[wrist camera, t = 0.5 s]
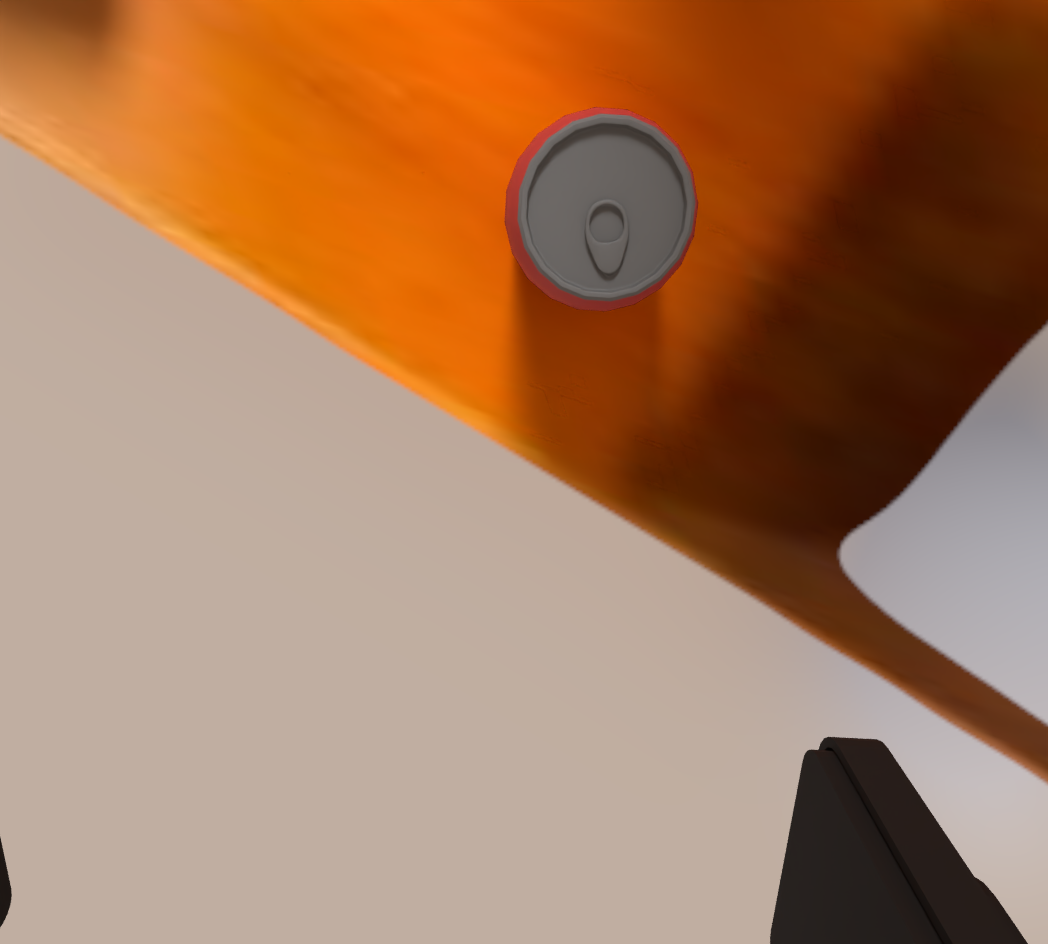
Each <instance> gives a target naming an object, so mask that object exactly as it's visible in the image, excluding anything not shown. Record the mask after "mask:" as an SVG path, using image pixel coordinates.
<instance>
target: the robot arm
mask: <svg viewBox="0 0 1048 944" xmlns="http://www.w3.org/2000/svg"><path fill="white" fill-rule="evenodd" d="M11 896H12V894H11V886H10V881H9V877H8V871H7V867H6V862H5V857H4V852H3V848H2V843H1V838H0V927H1V925H2V924H3V922H4V920H5V918H6V916H7V914H8V910H9V907H10V903H11ZM770 944H1028V943H1027V942H1026V940H1025V939H1024V938H1023V936H1022V934H1021V933H1020V932H1019V930H1018V929H1017V927H1016V926H1015V924H1014V923H1013V921H1012V920H1011V918H1010V917H1009V916H1008V914H1007V913H1006V911H1005V910H1004V908H1003V907H1002V905H1001V904H1000V902H999V901H998V899H997V898H996V897H995V896H994V894H993V893H992V892H991V891H990V890H989V888H988V887H987V886H986V885H985V884H984V883H983V882H982V881H980V880H979V879H977V878H975V877H974V876H973V874H972V873H971V871H970V870H969V868H968V867H967V865H966V864H965V862H964V861H963V859H962V858H961V856H960V855H959V853H958V852H957V850H956V849H955V847H954V846H953V844H952V843H951V841H950V840H949V839H948V837H947V836H946V834H945V833H944V831H943V830H942V828H941V827H940V825H939V824H938V822H937V821H936V819H935V818H934V816H933V815H932V813H931V812H930V810H929V809H928V807H927V806H926V804H925V803H924V801H923V800H922V798H921V797H920V795H919V794H918V792H917V791H916V789H915V788H914V786H913V785H912V783H911V782H910V780H909V779H908V778H907V776H906V775H905V773H904V772H903V770H902V769H901V767H900V766H899V764H898V763H897V762H896V760H895V758H894V757H893V755H892V754H891V752H890V751H889V749H888V748H887V747H886V746H885V745H884V743H883V742H881V741H879V740H877V739H858V738H839V737H838V738H837V737H827V738H824V740H823V741H822V742H821V744H820V747H819V750H808V751H807V752H806V753H805V755H804V759H803V763H802V768H801V773H800V779H799V784H798V789H797V795H796V800H795V806H794V811H793V816H792V821H791V827H790V832H789V837H788V843H787V848H786V854H785V859H784V864H783V869H782V875H781V880H780V885H779V891H778V896H777V901H776V907H775V912H774V918H773V923H772V928H771V936H770Z"/></svg>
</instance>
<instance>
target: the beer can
mask: <svg viewBox="0 0 1048 944" xmlns="http://www.w3.org/2000/svg"><path fill="white" fill-rule="evenodd" d="M697 209H698V200H697V195H696V189H695V183H694V177H693V172H692V170H691V168H690V166H689V164H688V162H687V161H686V159H685V157H684V155H683V153H682V151H681V149H680V147H679V145H678V144H677V143H676V142H675V141H674V140H673V139H672V138H671V137H670V136H669V135H668V134H667V133H666V132H665V131H664V130H663V129H662V128H660V127H659V126H658V125H657V124H656V123H655V122H653V121H651V120H649V119H646V118H644V117H642V116H640V115H637V114H635V113H633V112H631V111H628V110H626V109H612V108H598V107H594V108H591V109H587V110H583V111H580V112H576V113H573V114H569V115H565V116H563V117H562V118H560V119H559V120H557V121H556V122H554V123H553V124H552V125H550V126H549V127H547V128H546V129H544V130H543V131H541V132H540V133H538V134H537V136H536V137H535V138H534V139H533V141H532V142H531V143H530V145H529V146H528V147H527V148H526V150H525V151H524V152H523V154H522V155H521V156H520V158H519V159H518V161H517V163H516V166H515V169H514V171H513V174H512V177H511V179H510V182H509V185H508V188H507V191H506V208H505V226H506V230H507V234H508V238H509V242H510V246H511V250H512V253H513V255H514V257H515V258H516V260H517V261H518V263H519V265H520V266H521V268H522V270H523V271H524V273H525V275H526V276H527V278H528V279H529V280H530V281H531V282H532V283H534V284H535V285H536V286H537V287H538V288H539V289H540V290H542V291H543V292H544V293H545V294H546V295H547V296H549V297H550V298H552V299H554V300H556V301H559V302H561V303H564V304H566V305H568V306H571V307H573V308H576V309H582V310H596V311H609V310H613V309H617V308H621V307H625V306H629V305H633V304H636V303H637V302H639V301H641V300H642V299H644V298H645V297H647V296H649V295H650V294H652V293H654V292H655V291H657V290H658V289H660V288H661V287H662V286H663V285H664V284H665V282H666V281H667V280H668V279H669V278H670V277H671V276H672V274H673V273H674V272H675V271H676V270H677V269H678V268H679V266H680V265H681V264H682V261H683V259H684V257H685V255H686V252H687V250H688V248H689V246H690V244H691V241H692V239H693V237H694V232H695V224H696V216H697Z"/></svg>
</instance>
